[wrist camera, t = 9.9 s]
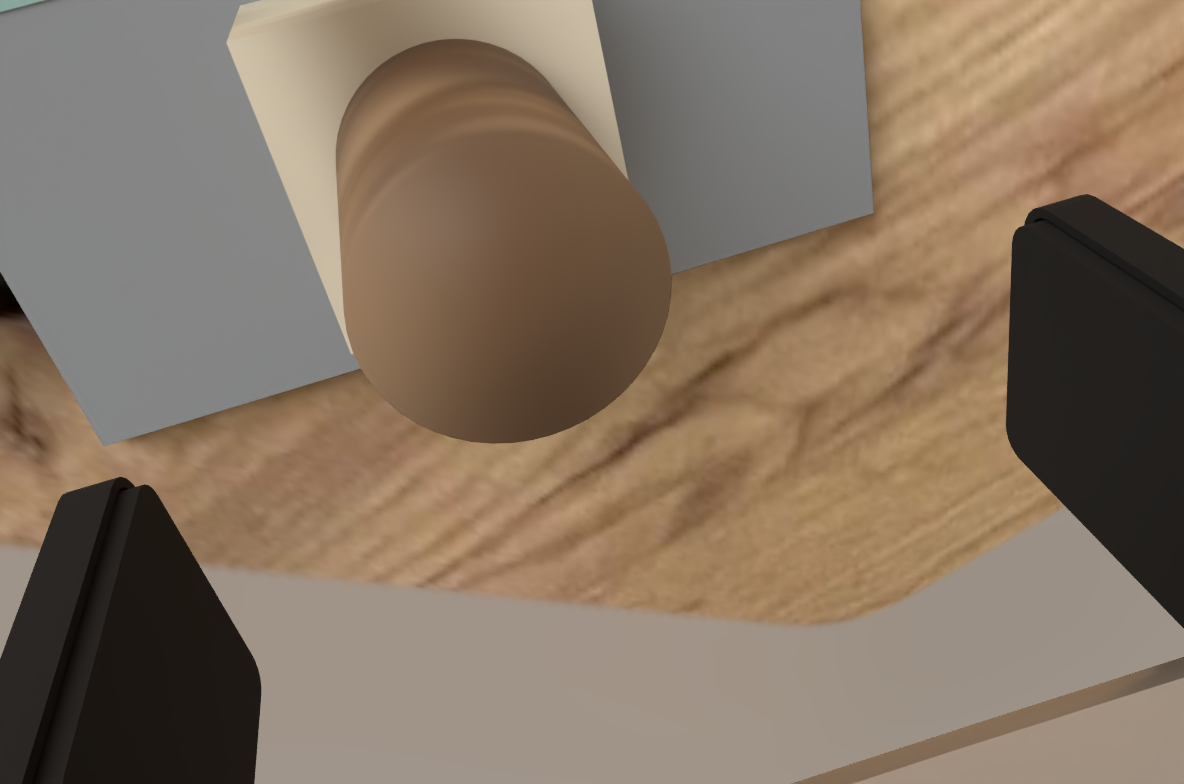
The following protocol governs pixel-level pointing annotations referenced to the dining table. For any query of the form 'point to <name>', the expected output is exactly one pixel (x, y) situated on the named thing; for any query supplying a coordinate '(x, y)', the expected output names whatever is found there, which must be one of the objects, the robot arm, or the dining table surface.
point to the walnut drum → (490, 248)
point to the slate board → (266, 218)
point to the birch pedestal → (362, 43)
